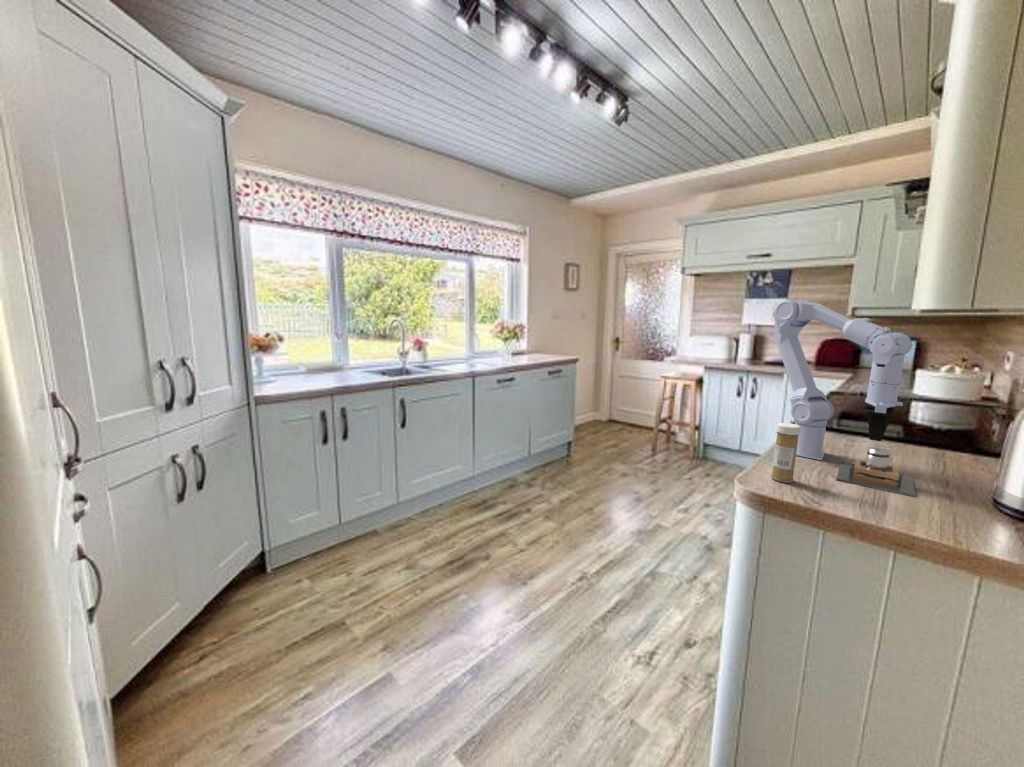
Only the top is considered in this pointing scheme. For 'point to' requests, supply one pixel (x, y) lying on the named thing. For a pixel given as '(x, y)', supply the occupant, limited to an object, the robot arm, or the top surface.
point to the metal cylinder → (877, 460)
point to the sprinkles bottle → (785, 452)
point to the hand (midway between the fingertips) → (875, 437)
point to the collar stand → (890, 483)
